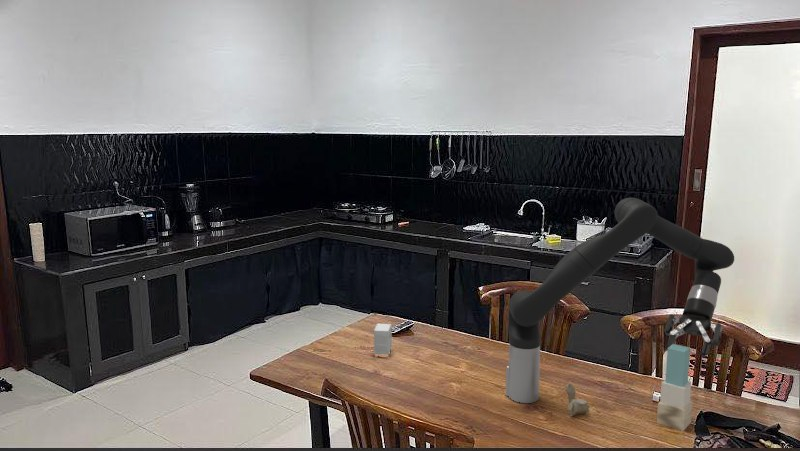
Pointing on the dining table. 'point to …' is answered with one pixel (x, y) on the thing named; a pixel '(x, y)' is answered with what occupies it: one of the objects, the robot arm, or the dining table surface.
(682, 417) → the beech block
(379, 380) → the dining table surface
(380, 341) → the small box
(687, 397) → the cream block
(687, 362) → the teal block
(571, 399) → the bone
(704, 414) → the dining table surface
